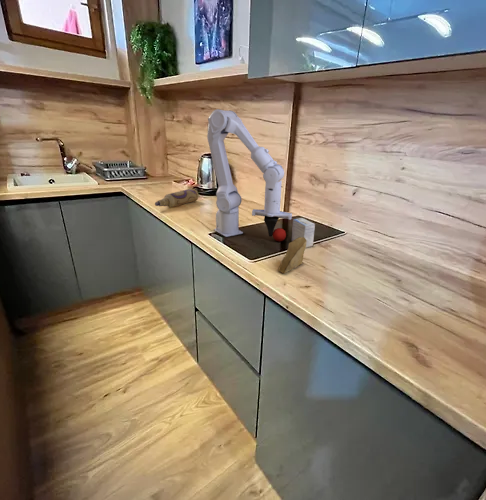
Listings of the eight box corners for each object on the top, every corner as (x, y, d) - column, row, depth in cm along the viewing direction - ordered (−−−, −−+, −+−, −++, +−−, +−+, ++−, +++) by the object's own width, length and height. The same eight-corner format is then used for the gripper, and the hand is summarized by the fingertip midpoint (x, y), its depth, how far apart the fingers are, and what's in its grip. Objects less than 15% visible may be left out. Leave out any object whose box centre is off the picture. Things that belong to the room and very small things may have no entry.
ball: (268, 239, 114) (271, 226, 112) (279, 237, 117) (281, 225, 115) (277, 244, 111) (279, 231, 109) (287, 242, 114) (289, 230, 112)
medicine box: (313, 246, 110) (315, 223, 107) (303, 248, 108) (305, 225, 105) (300, 239, 117) (302, 217, 113) (291, 240, 114) (292, 218, 111)
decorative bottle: (189, 199, 165) (188, 187, 163) (199, 201, 162) (199, 189, 159) (150, 209, 145) (148, 195, 142) (161, 212, 141) (159, 198, 139)
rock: (285, 271, 85) (315, 262, 89) (275, 243, 87) (305, 235, 90) (273, 278, 95) (300, 268, 99) (264, 252, 97) (291, 244, 100)
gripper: (250, 200, 106) (249, 236, 111) (291, 204, 104) (288, 241, 109) (255, 196, 112) (254, 230, 118) (293, 200, 110) (291, 235, 115)
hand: (270, 235), depth 114 cm, fingers closed, pressing on ball
